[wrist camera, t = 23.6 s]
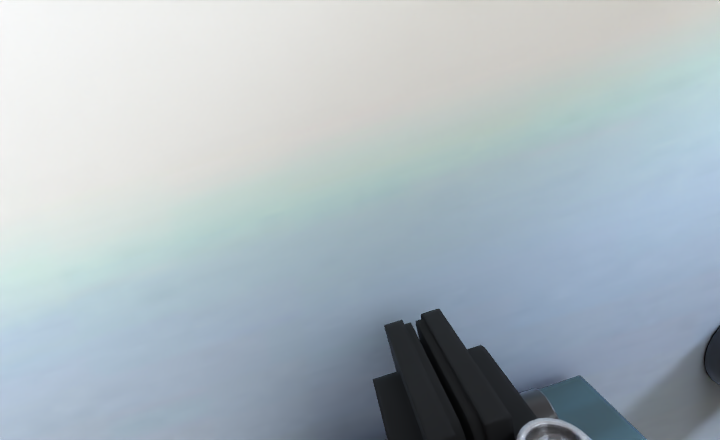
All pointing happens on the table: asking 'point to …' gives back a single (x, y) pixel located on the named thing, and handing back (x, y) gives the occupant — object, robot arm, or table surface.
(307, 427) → the table surface
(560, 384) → the drawer
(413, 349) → the robot arm
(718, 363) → the tan cylindrical container
